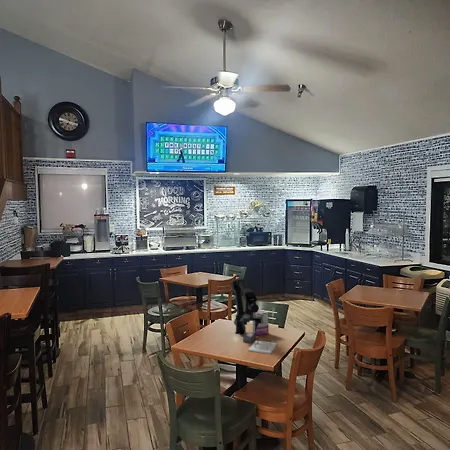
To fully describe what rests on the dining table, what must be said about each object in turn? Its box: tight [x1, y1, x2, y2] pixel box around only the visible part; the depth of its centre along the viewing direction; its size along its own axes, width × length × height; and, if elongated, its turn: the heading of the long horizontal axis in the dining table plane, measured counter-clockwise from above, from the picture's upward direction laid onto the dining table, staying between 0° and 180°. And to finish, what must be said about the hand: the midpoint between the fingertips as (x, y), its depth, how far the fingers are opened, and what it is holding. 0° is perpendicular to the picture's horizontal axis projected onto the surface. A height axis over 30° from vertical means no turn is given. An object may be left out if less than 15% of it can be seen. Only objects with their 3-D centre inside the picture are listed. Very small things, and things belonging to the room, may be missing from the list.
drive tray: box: [247, 340, 278, 355], centre depth 259 cm, size 15×18×3 cm
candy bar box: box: [252, 310, 269, 337], centre depth 286 cm, size 11×5×16 cm, turn 112°
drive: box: [242, 332, 256, 344], centre depth 274 cm, size 6×10×4 cm, turn 159°
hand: (249, 330), depth 274 cm, fingers open, 9 cm apart
